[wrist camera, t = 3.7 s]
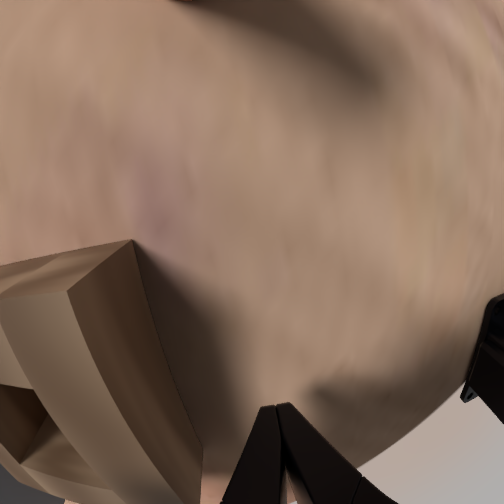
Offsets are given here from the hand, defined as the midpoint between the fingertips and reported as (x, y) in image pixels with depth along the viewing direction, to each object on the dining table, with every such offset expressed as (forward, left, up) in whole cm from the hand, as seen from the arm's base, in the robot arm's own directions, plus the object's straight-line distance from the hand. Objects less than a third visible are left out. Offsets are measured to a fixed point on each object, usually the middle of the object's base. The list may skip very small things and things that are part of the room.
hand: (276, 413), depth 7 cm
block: (+8, 0, -3) cm, 9 cm away
